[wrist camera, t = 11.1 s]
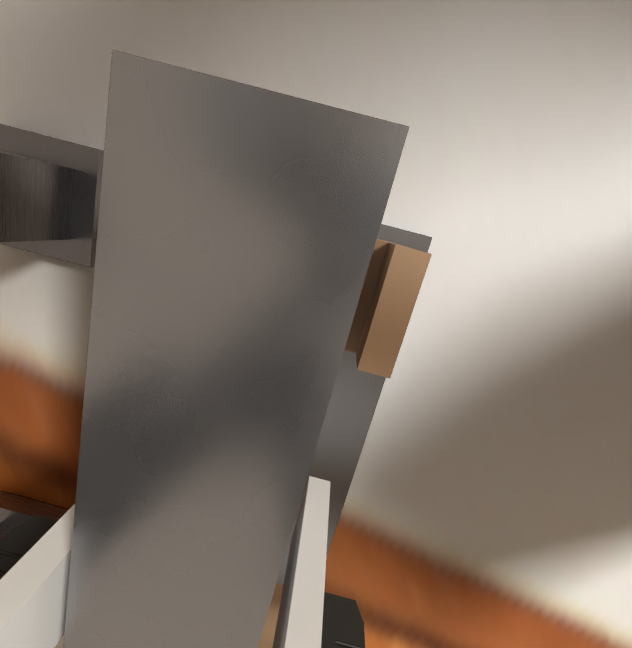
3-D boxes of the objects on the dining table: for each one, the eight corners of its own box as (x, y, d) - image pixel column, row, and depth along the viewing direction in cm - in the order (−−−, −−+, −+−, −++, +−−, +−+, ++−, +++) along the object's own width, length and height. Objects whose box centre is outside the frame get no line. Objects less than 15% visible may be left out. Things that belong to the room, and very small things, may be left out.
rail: (217, 130, 9) (112, 50, 5) (380, 172, 9) (409, 127, 5) (123, 720, 14) (42, 899, 11) (219, 747, 14) (173, 937, 11)
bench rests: (182, 172, 13) (75, 135, 8) (429, 237, 13) (485, 242, 8) (124, 589, 18) (39, 727, 13) (297, 637, 18) (279, 794, 13)
